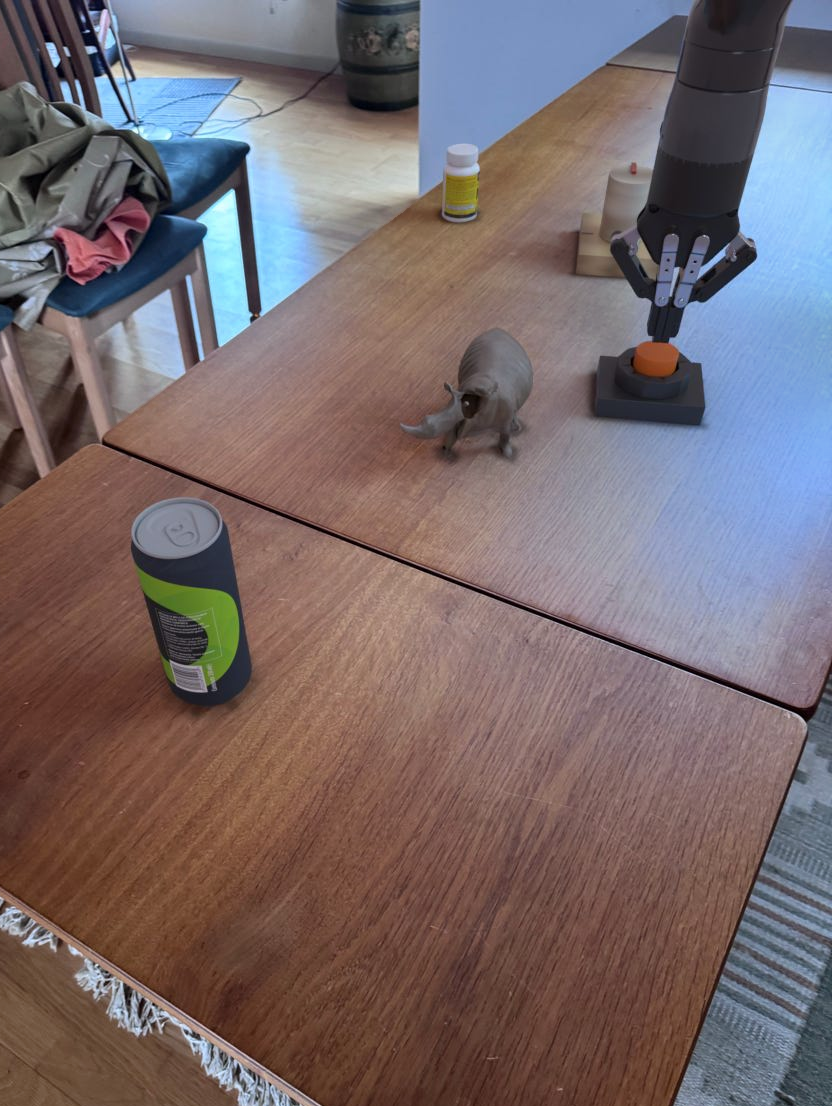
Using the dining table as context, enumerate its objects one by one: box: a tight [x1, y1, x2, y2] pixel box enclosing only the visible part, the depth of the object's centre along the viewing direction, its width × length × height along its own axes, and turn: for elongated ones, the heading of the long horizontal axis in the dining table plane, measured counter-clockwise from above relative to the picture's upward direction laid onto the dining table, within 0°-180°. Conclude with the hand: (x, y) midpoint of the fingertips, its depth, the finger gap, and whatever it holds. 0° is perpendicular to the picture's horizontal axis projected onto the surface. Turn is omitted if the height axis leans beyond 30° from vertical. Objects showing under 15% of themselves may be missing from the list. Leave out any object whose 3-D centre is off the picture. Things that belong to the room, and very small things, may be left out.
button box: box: [594, 346, 706, 427], centre depth 89 cm, size 10×8×4 cm
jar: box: [599, 162, 653, 243], centre depth 108 cm, size 6×6×7 cm
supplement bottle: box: [441, 143, 481, 224], centre depth 119 cm, size 5×5×8 cm
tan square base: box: [575, 212, 657, 280], centre depth 111 cm, size 10×12×3 cm
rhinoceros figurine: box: [398, 327, 534, 459], centre depth 84 cm, size 8×14×15 cm
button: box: [633, 340, 680, 377], centre depth 88 cm, size 4×4×2 cm
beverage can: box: [130, 496, 253, 707], centre depth 62 cm, size 6×6×15 cm
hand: (660, 338), depth 86 cm, fingers closed
